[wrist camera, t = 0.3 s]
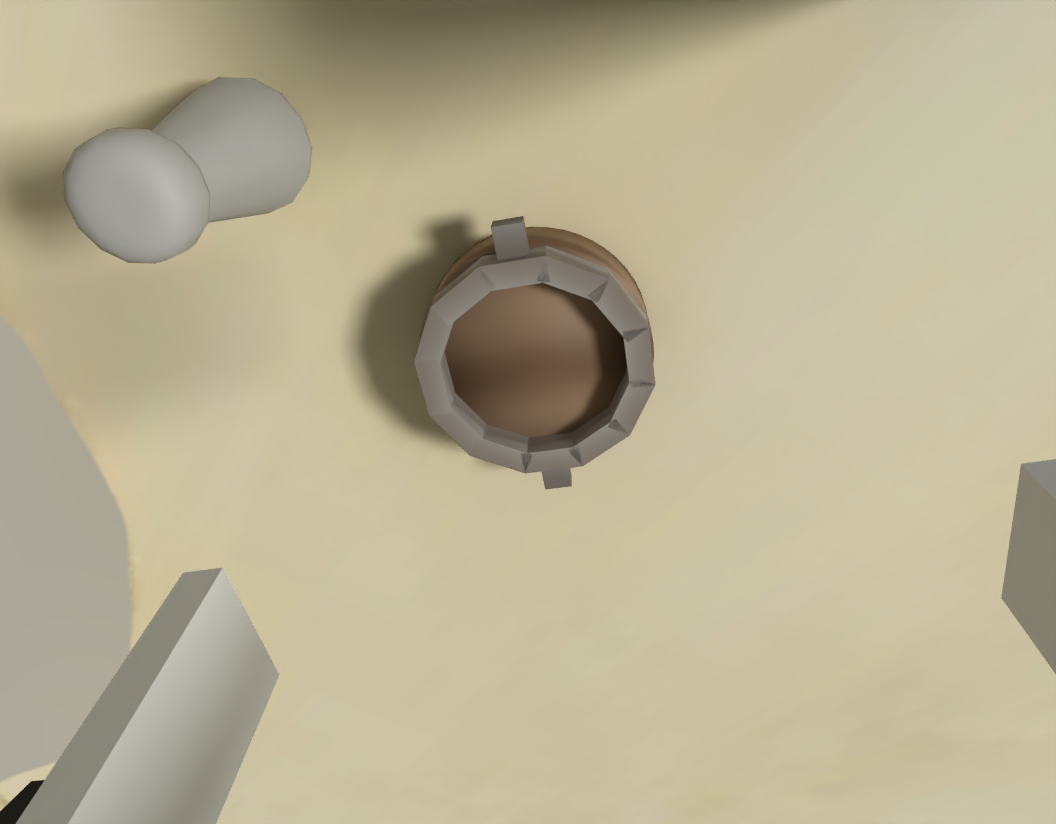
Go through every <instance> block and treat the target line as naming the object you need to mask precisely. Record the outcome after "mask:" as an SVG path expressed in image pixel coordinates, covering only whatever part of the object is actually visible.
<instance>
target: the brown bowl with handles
mask: <svg viewBox="0 0 1056 824" xmlns="http://www.w3.org/2000/svg"><path fill="white" fill-rule="evenodd" d="M491 231H492V236H491V237H489V238H487V239H485V240H483V241H481V242H479V243H478V244H476V245H474V246H473V247H472V248H470V249H469V250H468V251H466V252H465V253H464V254H463V255H462V256H461V257H460V258H459V259H458V260H457V261H456V262H454V264H453V265H452V266H451V267H450V269H449V270H448V271H447V273H446V274H445V276H444V277H443V279H442V281H441V283H440V284H439V286H438V288H437V291H436V293H435V295H434V297H433V299H432V302H431V304H430V306H429V308H428V311H427V314H426V316H425V319H424V321H423V326H422V330H421V334H420V343H419V347H418V350H417V353H416V356H415V360H414V365H415V368H416V372H417V375H418V379H419V382H420V386H421V389H422V393H423V396H424V400H425V403H426V407H427V410H428V414H429V416H430V417H431V418H432V419H433V420H434V421H435V422H436V423H437V424H438V425H439V426H440V427H441V428H442V429H443V430H444V431H445V432H446V433H447V434H448V435H449V436H450V437H451V438H452V439H453V440H454V441H455V442H456V443H457V444H458V445H460V446H461V447H462V448H463V449H464V450H465V451H466V452H467V453H468V454H469V455H470V456H473V457H476V458H479V459H482V460H485V461H488V462H491V463H495V464H498V465H501V466H504V467H507V468H510V469H513V470H516V471H519V472H522V473H532V472H540V471H542V475H543V480H544V485H545V489H552V488H560V487H569V486H572V476H571V470H570V468H572V467H580V466H584V465H585V464H587V463H588V462H590V461H591V460H593V459H594V458H596V457H597V456H599V455H600V454H602V453H603V452H605V451H606V450H608V449H609V448H611V447H612V446H614V445H616V444H617V443H619V442H620V441H622V440H623V439H625V438H626V437H628V436H629V435H630V434H631V432H632V430H633V428H634V426H635V424H636V422H637V420H638V418H639V416H640V414H641V412H642V410H643V408H644V406H645V404H646V402H647V400H648V398H649V397H650V395H651V393H652V391H653V389H654V387H655V377H654V368H653V360H654V347H653V338H652V333H651V328H650V324H649V319H648V315H647V311H646V307H645V304H644V301H643V298H642V295H641V292H640V290H639V288H638V286H637V284H636V282H635V280H634V279H633V277H632V276H631V275H630V273H629V272H628V270H627V269H626V268H625V267H624V265H623V264H622V263H621V262H620V261H619V260H618V259H617V258H616V257H615V256H614V255H612V254H611V253H610V252H609V251H607V250H606V249H605V248H603V247H602V246H600V245H599V244H597V243H595V242H594V241H592V240H590V239H588V238H585V237H583V236H581V235H579V234H576V233H572V232H569V231H566V230H561V229H555V228H549V227H528V228H525V222H524V217H523V216H521V217H515V218H510V219H504V220H498V221H493V222H492V225H491Z"/></svg>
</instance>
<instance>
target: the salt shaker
mask: <svg viewBox="0 0 1056 824" xmlns="http://www.w3.org/2000/svg"><path fill="white" fill-rule="evenodd" d="M311 155H312V147H311V144H310V140H309V137H308V134H307V131H306V128H305V125H304V122H303V119H302V118H301V116H300V115H299V114H298V113H297V112H296V110H295V109H294V108H293V107H292V106H291V104H290V103H289V102H288V101H287V100H286V98H285V97H284V96H283V95H282V94H281V93H279V92H277V91H276V90H274V89H272V88H270V87H268V86H266V85H264V84H262V83H261V82H259V81H257V80H255V79H249V78H228V77H218V78H216V79H214V80H212V81H210V82H209V83H207V84H205V85H203V86H201V87H200V88H198V89H196V90H194V91H193V92H192V93H191V94H190V95H189V96H188V97H187V98H186V99H184V100H183V101H182V102H181V103H180V104H179V105H178V106H177V107H176V108H175V109H174V110H173V111H171V112H170V113H169V114H168V115H167V116H166V117H165V118H164V119H163V120H162V121H161V122H160V123H158V124H157V125H156V126H155V127H154V128H153V129H152V130H148V129H133V128H114V129H109V130H106V131H104V132H102V133H100V134H99V135H97V136H95V137H93V138H92V139H90V140H88V141H86V142H84V143H83V144H82V145H80V146H79V147H78V148H76V149H75V150H74V152H73V154H72V156H71V158H70V160H69V162H68V163H67V165H66V167H65V169H64V171H63V179H64V194H65V201H66V203H67V205H68V207H69V210H70V212H71V214H72V216H73V218H74V220H75V222H76V224H77V226H78V228H79V229H80V230H81V231H82V232H83V233H84V234H85V235H86V236H87V237H88V238H89V239H91V240H92V241H93V242H94V243H95V244H96V245H97V246H98V247H99V248H100V249H101V250H103V251H105V252H107V253H109V254H111V255H113V256H115V257H118V258H120V259H122V260H124V261H126V262H129V263H158V262H162V261H165V260H168V259H170V258H172V257H174V256H176V255H178V254H181V253H183V252H185V251H187V250H189V249H190V248H191V247H192V246H193V245H194V244H196V242H197V240H198V239H199V237H200V235H201V234H202V232H203V230H204V229H205V227H206V225H207V224H208V223H210V222H216V221H222V220H229V219H235V218H241V217H248V216H254V215H260V214H267V213H270V212H272V211H274V210H277V209H279V208H281V207H283V206H286V205H288V204H290V203H292V202H293V200H294V199H295V197H296V196H297V194H298V193H299V191H300V190H301V188H302V187H303V185H304V184H305V182H306V181H307V179H308V177H309V172H310V163H311Z"/></svg>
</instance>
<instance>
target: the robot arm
mask: <svg viewBox="0 0 1056 824" xmlns="http://www.w3.org/2000/svg"><path fill="white" fill-rule="evenodd" d="M1001 598H1002V599H1003V601H1004V602H1005V604H1006V605H1007V606H1008V608H1009V609H1010V611H1011V612H1012V613H1013V615H1014V616H1015V618H1016V619H1017V620H1018V622H1019V623H1020V625H1021V626H1022V627H1023V629H1024V630H1025V632H1026V633H1027V634H1028V636H1029V637H1030V639H1031V640H1032V641H1033V643H1034V644H1035V646H1036V647H1037V648H1038V650H1039V651H1040V653H1041V654H1042V655H1043V657H1044V658H1045V660H1046V661H1047V662H1048V664H1049V665H1050V667H1051V668H1052V669H1053V671H1054V672H1055V674H1056V459H1055V460H1047V461H1039V462H1032V463H1024V464H1021V468H1020V475H1019V482H1018V489H1017V495H1016V502H1015V509H1014V516H1013V523H1012V529H1011V536H1010V543H1009V550H1008V556H1007V563H1006V570H1005V577H1004V583H1003V590H1002V597H1001ZM278 676H279V673H278V671H277V670H276V668H275V666H274V664H273V662H272V660H271V658H270V656H269V654H268V653H267V651H266V649H265V647H264V645H263V643H262V641H261V639H260V637H259V635H258V634H257V632H256V630H255V628H254V626H253V624H252V622H251V620H250V618H249V616H248V615H247V613H246V611H245V609H244V607H243V605H242V603H241V601H240V599H239V598H238V596H237V594H236V592H235V590H234V588H233V586H232V584H231V582H230V580H229V579H228V577H227V575H226V573H225V571H224V569H223V568H216V569H209V570H201V571H193V572H186V573H183V574H182V575H181V577H180V578H179V580H178V581H177V583H176V584H175V586H174V587H173V589H172V590H171V592H170V593H169V595H168V596H167V598H166V599H165V601H164V602H163V604H162V605H161V607H160V608H159V610H158V611H157V613H156V614H155V616H154V617H153V619H152V620H151V622H150V623H149V625H148V626H147V628H146V629H145V631H144V632H143V634H142V635H141V637H140V638H139V640H138V641H137V643H136V644H135V646H134V647H133V649H132V650H131V652H130V653H129V655H128V656H127V658H126V659H125V661H124V662H123V664H122V665H121V667H120V668H119V670H118V671H117V673H116V674H115V676H114V677H113V679H112V680H111V682H110V683H109V685H108V686H107V688H106V689H105V691H104V692H103V694H102V695H101V697H100V698H99V700H98V701H97V703H96V704H95V706H94V707H93V709H92V710H91V712H90V713H89V715H88V716H87V718H86V719H85V721H84V722H83V724H82V725H81V727H80V728H79V730H78V731H77V733H76V734H75V736H74V737H73V739H72V740H71V742H70V743H69V745H68V746H67V748H66V749H65V751H64V752H63V754H62V755H61V757H60V758H59V760H58V761H57V763H56V764H55V766H54V767H53V769H52V770H51V772H50V773H49V775H48V776H47V778H46V779H45V780H40V781H31V782H30V783H29V784H28V785H27V786H26V787H25V788H24V789H23V790H22V791H21V792H20V793H19V794H18V795H17V796H16V797H15V798H14V799H13V800H12V801H11V802H10V803H9V804H8V805H6V806H5V807H4V808H3V809H2V810H1V811H0V824H216V822H217V819H218V817H219V815H220V812H221V810H222V808H223V805H224V803H225V801H226V798H227V796H228V794H229V791H230V789H231V787H232V784H233V782H234V780H235V777H236V775H237V773H238V770H239V768H240V765H241V763H242V761H243V758H244V756H245V754H246V751H247V749H248V747H249V744H250V742H251V740H252V737H253V735H254V733H255V730H256V728H257V726H258V723H259V721H260V719H261V716H262V714H263V712H264V709H265V707H266V705H267V702H268V700H269V697H270V695H271V693H272V690H273V688H274V686H275V683H276V681H277V679H278Z"/></svg>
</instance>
